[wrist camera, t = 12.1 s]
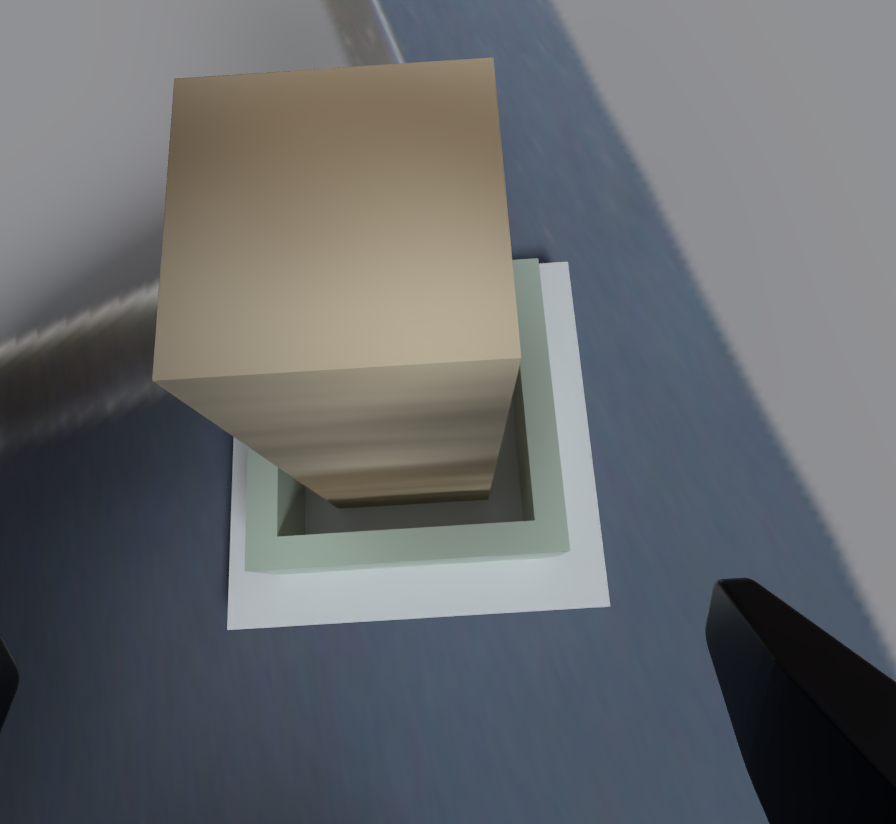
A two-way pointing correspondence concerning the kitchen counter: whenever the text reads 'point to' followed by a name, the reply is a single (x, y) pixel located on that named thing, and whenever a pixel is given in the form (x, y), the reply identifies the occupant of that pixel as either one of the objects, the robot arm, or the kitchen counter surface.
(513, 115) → the kitchen counter surface
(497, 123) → the brown box
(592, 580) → the caddy
